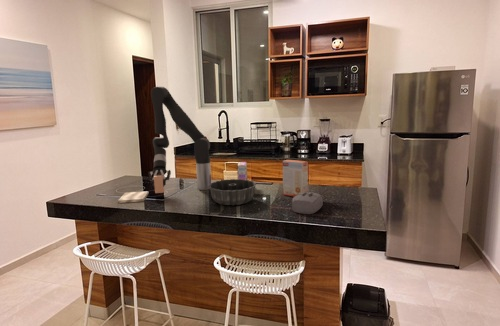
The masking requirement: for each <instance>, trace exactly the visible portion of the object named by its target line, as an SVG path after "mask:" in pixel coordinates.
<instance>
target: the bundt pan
mask: <svg viewBox="0 0 500 326" xmlns="http://www.w3.org/2000/svg"><path fill="white" fill-rule="evenodd" d="M256 185H257V183H256V182H255V181H254V180H250V179H247V180H244V179H238V178H236V179H235V178H232V179H221V180H216V181H213V182H211V184H210V185H209V187H210V189H209V190H210V195H211V198H212V200H213V201H214V202H215V203H218V204H219V205H220V206H221V205H222V206H223V205H225V206H235V205H237V206H238V205H239V206H241V205H243V204H244V205H245V204H247V203H249V202H250V201H252V199H253V197H254V196H255V192H256V191H255V190H256Z"/></svg>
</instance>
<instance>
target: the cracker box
mask: <svg viewBox="0 0 500 326" xmlns="http://www.w3.org/2000/svg"><path fill="white" fill-rule="evenodd" d="M308 165H309V163H308V161H307V160H306V161H304V160H294V159H286V160H285V159H284V160H282V195H283V196H287V197H293V198H294V197H295V196H297V195H298V194H300V193H304V192H308V188H309V187H308V185H309V184H308V181H309V180H308V175H309V172H308V171H309V170H308V169H309V167H308Z"/></svg>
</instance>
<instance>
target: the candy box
mask: <svg viewBox="0 0 500 326" xmlns="http://www.w3.org/2000/svg"><path fill="white" fill-rule="evenodd" d="M247 163H248V162H247V161H239V162H237V165H236V167H237V172H236V173H237V179H244V180H248V166H247Z"/></svg>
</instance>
